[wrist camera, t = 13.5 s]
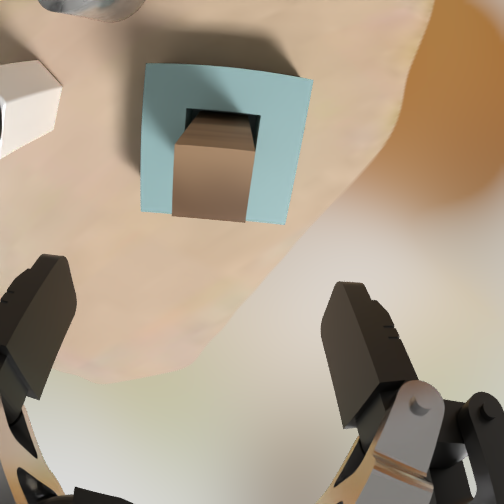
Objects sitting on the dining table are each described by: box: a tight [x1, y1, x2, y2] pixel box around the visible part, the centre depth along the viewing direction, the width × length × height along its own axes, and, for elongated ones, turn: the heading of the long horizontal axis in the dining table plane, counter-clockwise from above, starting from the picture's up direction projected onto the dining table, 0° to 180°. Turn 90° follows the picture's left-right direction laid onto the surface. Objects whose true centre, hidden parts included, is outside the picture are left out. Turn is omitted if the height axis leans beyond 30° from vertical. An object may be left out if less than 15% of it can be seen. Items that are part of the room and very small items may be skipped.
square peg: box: [172, 111, 255, 223], centre depth 21 cm, size 4×4×12 cm
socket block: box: [141, 63, 313, 225], centre depth 25 cm, size 12×12×5 cm
